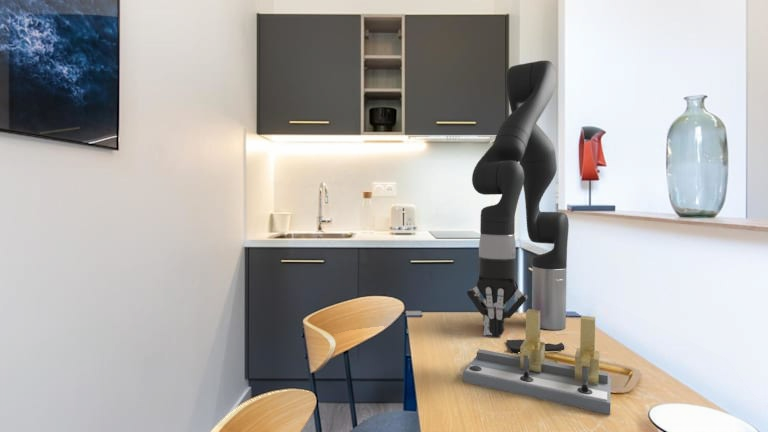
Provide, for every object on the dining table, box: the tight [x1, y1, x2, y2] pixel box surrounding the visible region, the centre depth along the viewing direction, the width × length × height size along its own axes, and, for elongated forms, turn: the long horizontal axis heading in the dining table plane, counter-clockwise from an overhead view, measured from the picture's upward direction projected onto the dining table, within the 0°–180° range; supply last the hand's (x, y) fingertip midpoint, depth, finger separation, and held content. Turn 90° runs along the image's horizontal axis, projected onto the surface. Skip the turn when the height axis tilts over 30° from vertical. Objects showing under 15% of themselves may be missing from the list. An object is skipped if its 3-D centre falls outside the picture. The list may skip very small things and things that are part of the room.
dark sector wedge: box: [506, 339, 565, 354], centre depth 100 cm, size 8×14×2 cm, turn 80°
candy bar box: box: [482, 297, 502, 338], centre depth 113 cm, size 11×5×16 cm, turn 164°
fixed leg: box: [574, 315, 600, 392], centre depth 76 cm, size 10×4×12 cm, turn 151°
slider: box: [519, 308, 546, 378], centre depth 81 cm, size 10×4×11 cm, turn 151°
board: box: [462, 349, 612, 415], centre depth 81 cm, size 12×26×4 cm, turn 61°
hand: (496, 335), depth 87 cm, fingers closed
